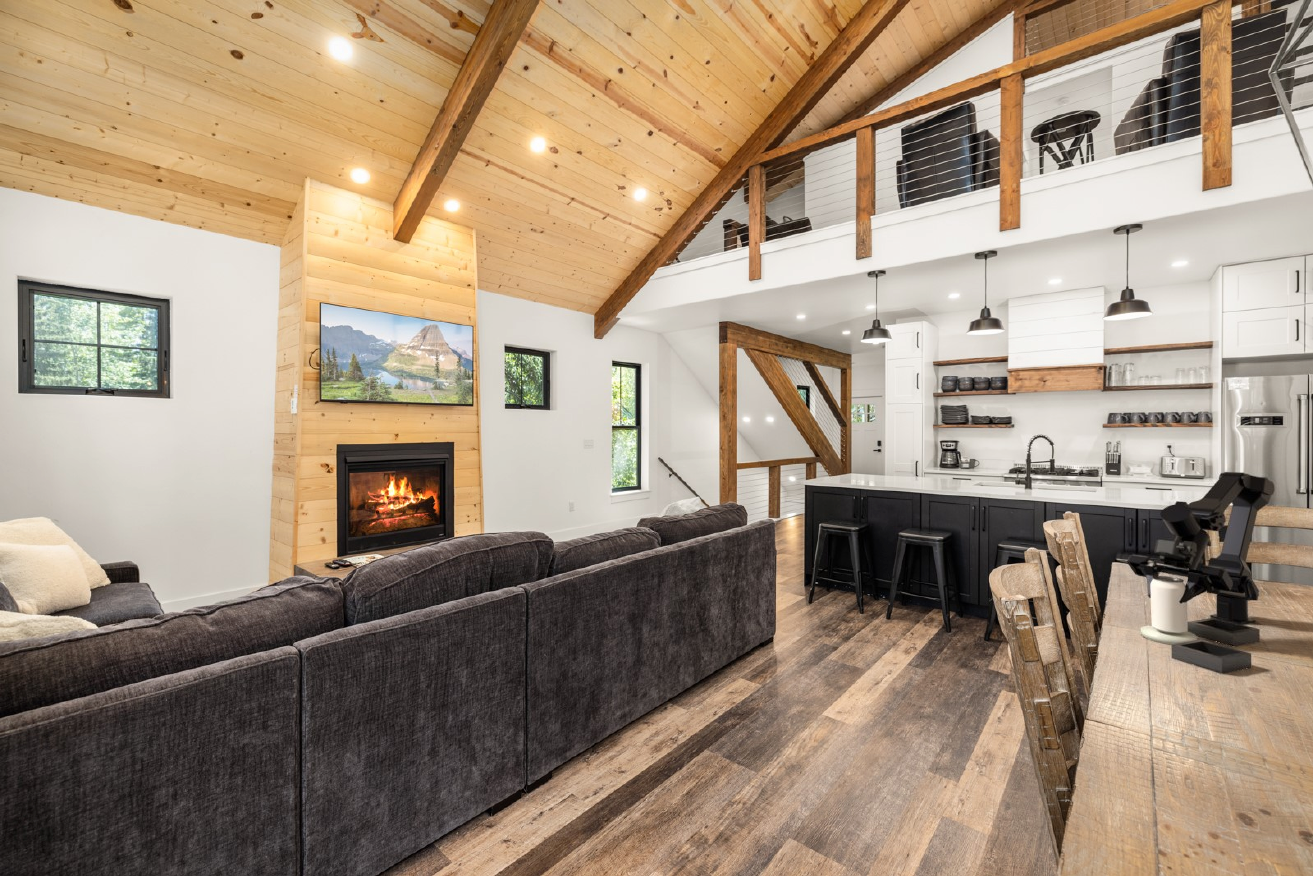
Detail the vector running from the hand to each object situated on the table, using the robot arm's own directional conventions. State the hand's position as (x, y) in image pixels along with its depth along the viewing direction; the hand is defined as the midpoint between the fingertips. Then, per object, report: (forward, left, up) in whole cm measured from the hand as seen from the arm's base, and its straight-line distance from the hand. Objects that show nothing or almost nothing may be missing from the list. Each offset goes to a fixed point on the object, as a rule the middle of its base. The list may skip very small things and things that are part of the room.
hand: (1164, 600), depth 138 cm
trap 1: (+7, +13, -9) cm, 17 cm away
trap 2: (-13, +4, -9) cm, 17 cm away
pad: (-1, 0, -9) cm, 9 cm away
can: (-1, 0, -7) cm, 7 cm away
